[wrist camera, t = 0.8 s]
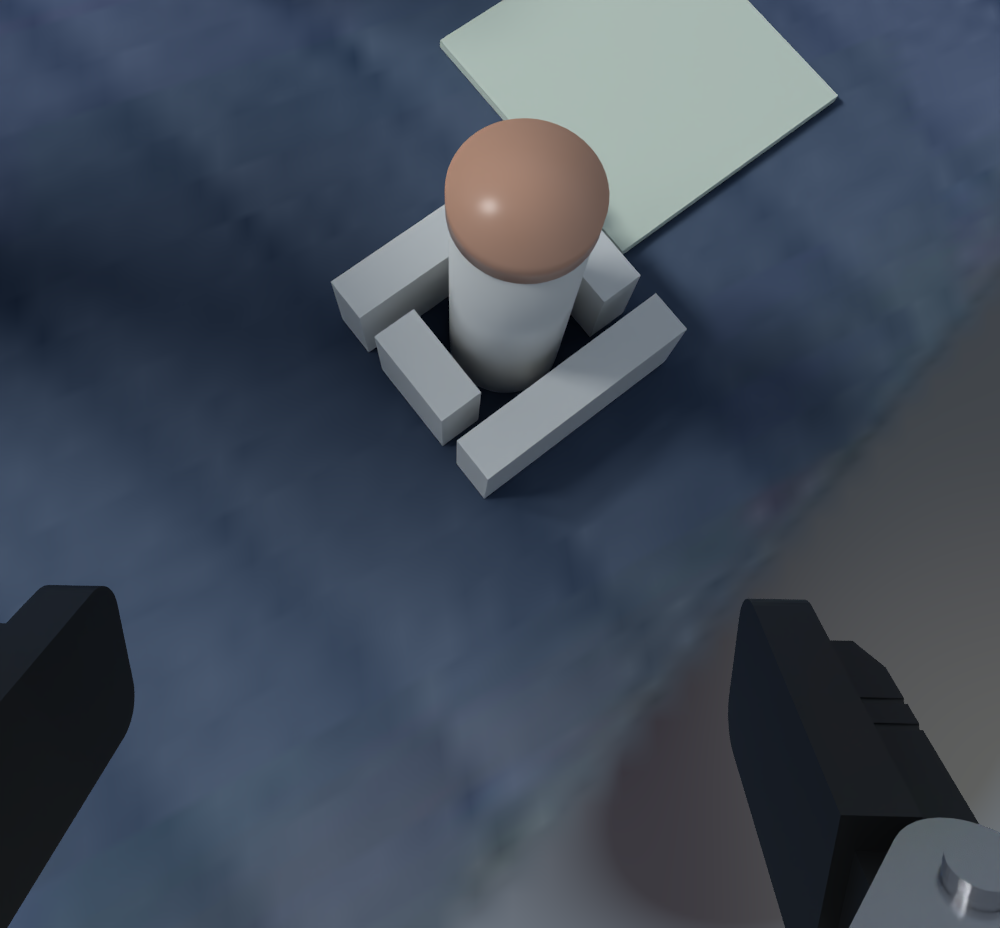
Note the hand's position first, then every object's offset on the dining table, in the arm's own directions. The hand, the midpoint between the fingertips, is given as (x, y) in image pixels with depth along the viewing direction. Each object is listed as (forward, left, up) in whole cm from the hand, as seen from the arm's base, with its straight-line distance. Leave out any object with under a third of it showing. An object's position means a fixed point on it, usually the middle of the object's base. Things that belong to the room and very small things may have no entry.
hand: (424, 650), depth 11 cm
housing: (-10, +11, -26) cm, 30 cm away
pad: (-17, +25, -26) cm, 40 cm away
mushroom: (-10, +11, -26) cm, 30 cm away
